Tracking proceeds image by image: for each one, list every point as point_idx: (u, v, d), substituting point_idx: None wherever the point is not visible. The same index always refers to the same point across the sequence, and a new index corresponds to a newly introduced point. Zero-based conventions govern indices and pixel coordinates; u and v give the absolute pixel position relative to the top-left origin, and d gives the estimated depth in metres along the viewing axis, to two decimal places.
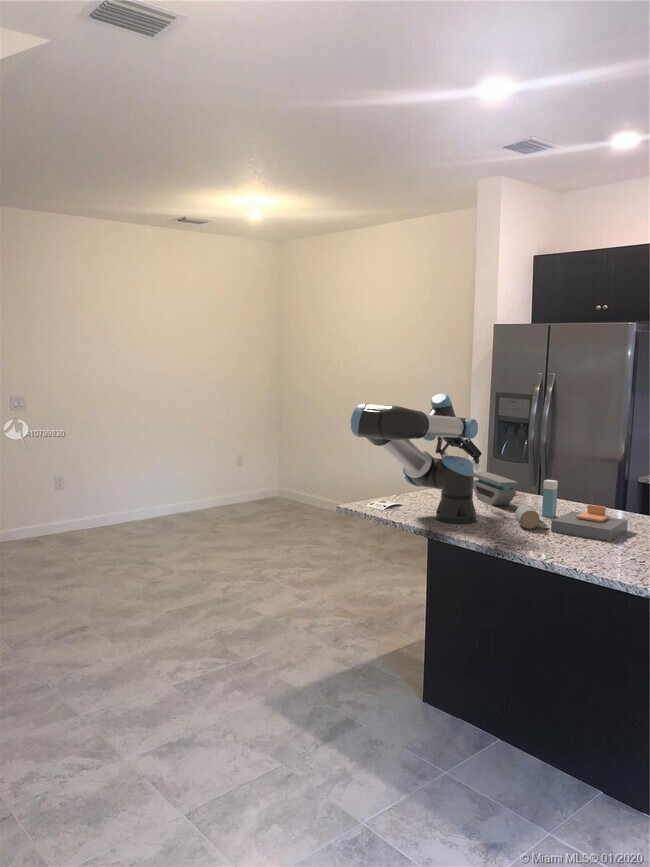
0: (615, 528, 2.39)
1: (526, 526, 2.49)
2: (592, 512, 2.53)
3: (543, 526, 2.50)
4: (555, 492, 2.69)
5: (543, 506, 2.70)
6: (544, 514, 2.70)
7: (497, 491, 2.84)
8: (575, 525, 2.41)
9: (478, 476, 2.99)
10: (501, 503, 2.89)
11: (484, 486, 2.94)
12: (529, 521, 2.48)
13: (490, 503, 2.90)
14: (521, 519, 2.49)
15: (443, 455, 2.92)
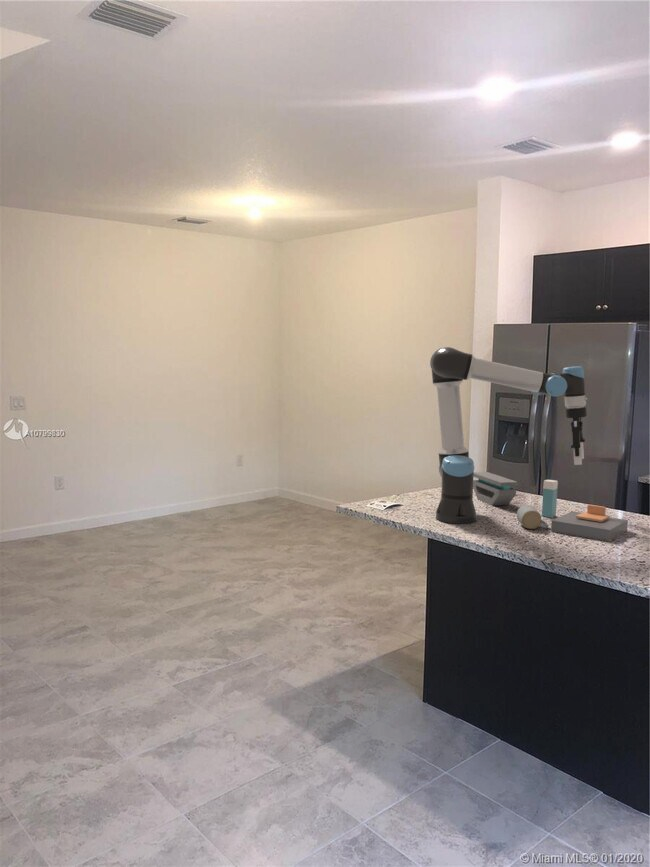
0: (615, 528, 2.39)
1: (528, 526, 2.49)
2: (592, 512, 2.53)
3: (545, 526, 2.50)
4: (555, 492, 2.69)
5: (543, 506, 2.70)
6: (544, 514, 2.70)
7: (497, 491, 2.84)
8: (575, 525, 2.41)
9: (478, 476, 2.99)
10: (501, 503, 2.89)
11: (484, 486, 2.94)
12: (531, 521, 2.48)
13: (490, 503, 2.90)
14: (523, 519, 2.49)
15: None
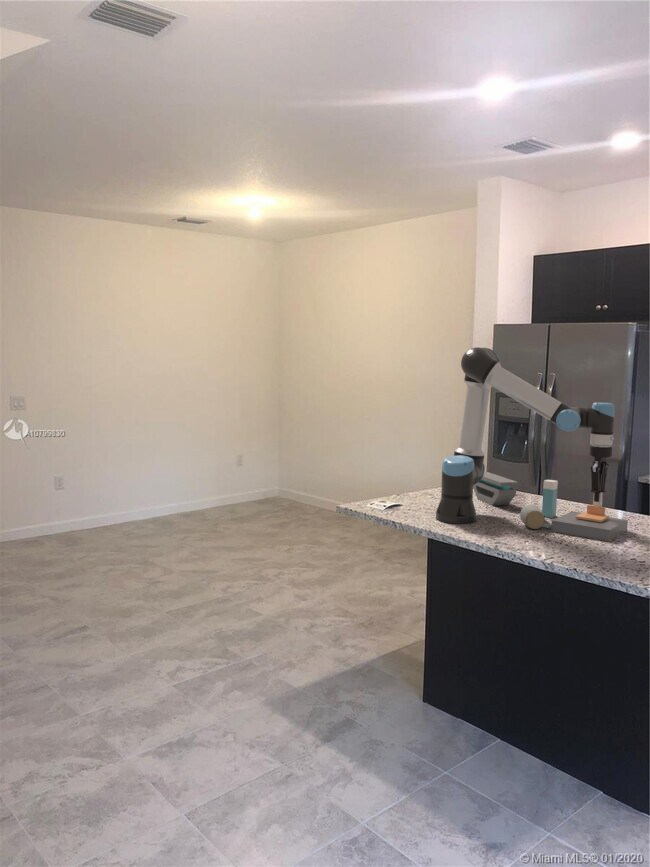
0: (615, 528, 2.39)
1: (531, 526, 2.49)
2: (592, 512, 2.52)
3: (548, 526, 2.49)
4: (555, 492, 2.69)
5: (543, 506, 2.70)
6: (544, 514, 2.70)
7: (497, 491, 2.84)
8: (575, 525, 2.41)
9: None
10: (501, 503, 2.89)
11: (484, 486, 2.94)
12: (534, 521, 2.48)
13: (490, 503, 2.90)
14: (526, 519, 2.48)
15: None
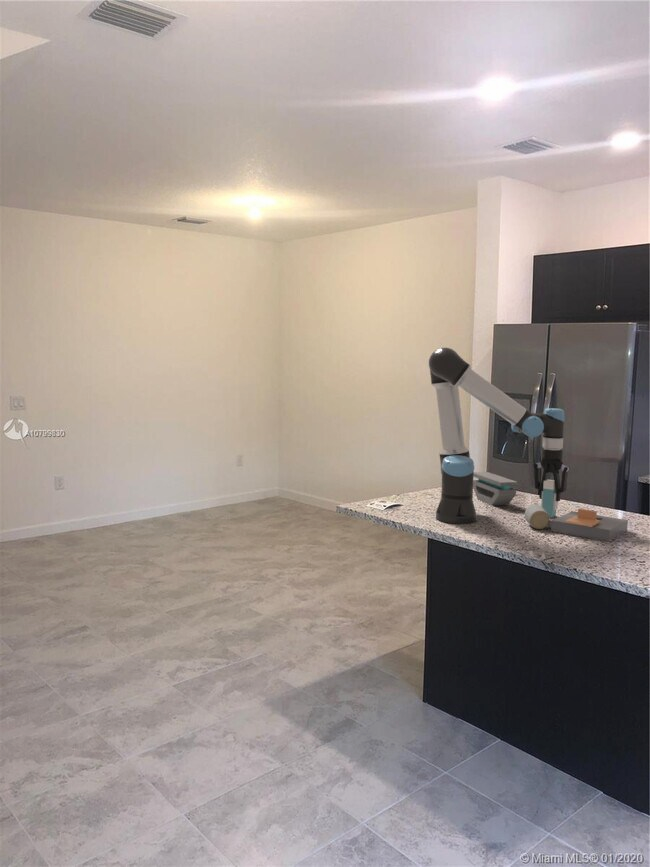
0: (615, 528, 2.39)
1: (536, 526, 2.49)
2: (583, 516, 2.45)
3: None
4: None
5: (543, 506, 2.70)
6: None
7: (497, 491, 2.84)
8: (575, 525, 2.41)
9: (478, 476, 2.99)
10: (501, 503, 2.89)
11: (484, 486, 2.94)
12: (539, 521, 2.48)
13: (490, 503, 2.90)
14: (531, 519, 2.49)
15: None
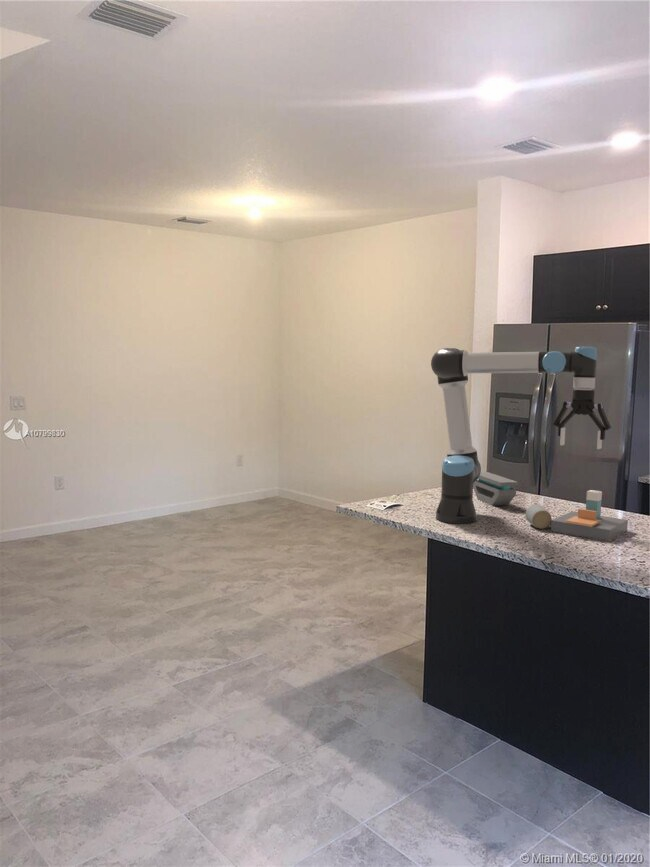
0: (615, 528, 2.39)
1: (538, 526, 2.49)
2: (583, 516, 2.45)
3: None
4: (599, 504, 2.49)
5: None
6: None
7: (497, 491, 2.84)
8: (575, 525, 2.41)
9: None
10: (501, 503, 2.89)
11: (484, 486, 2.94)
12: (541, 521, 2.49)
13: (490, 503, 2.90)
14: (533, 519, 2.49)
15: (562, 428, 2.60)
